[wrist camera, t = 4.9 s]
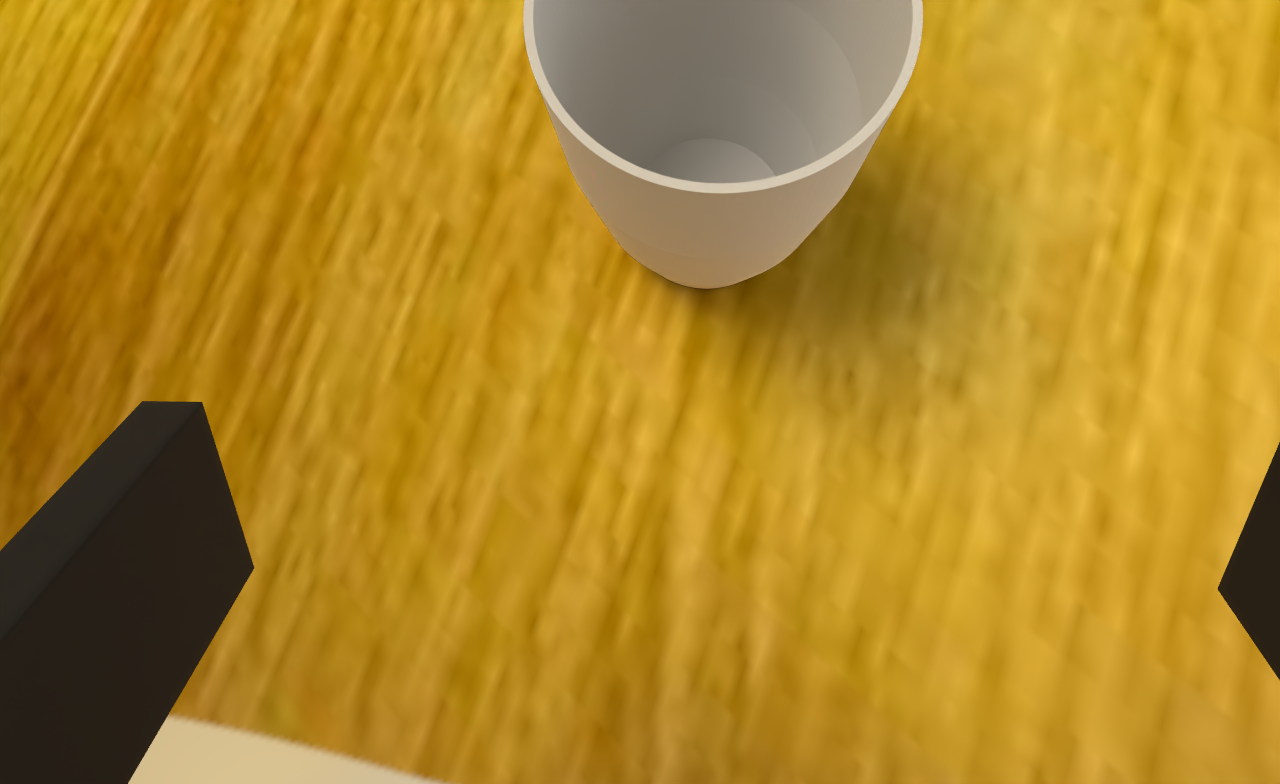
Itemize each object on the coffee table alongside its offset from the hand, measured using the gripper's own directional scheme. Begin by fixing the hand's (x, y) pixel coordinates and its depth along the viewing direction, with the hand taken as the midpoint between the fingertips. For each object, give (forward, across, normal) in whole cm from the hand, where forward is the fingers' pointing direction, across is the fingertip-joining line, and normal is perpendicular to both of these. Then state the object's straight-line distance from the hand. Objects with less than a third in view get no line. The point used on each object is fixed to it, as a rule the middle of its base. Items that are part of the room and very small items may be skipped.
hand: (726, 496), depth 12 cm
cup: (+18, 0, -3) cm, 18 cm away
